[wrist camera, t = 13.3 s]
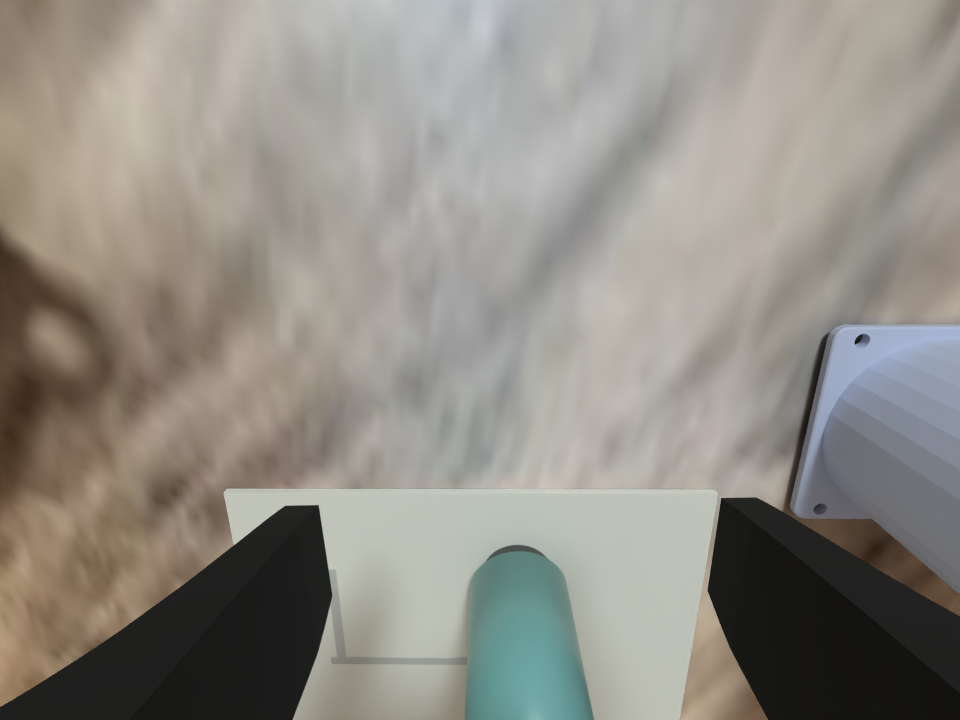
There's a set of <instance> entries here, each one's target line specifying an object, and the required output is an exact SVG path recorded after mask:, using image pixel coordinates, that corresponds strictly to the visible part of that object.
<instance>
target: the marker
mask: <svg viewBox="0 0 960 720" xmlns="http://www.w3.org/2000/svg"><path fill="white" fill-rule="evenodd" d="M465 720H594V717H593V712H592V707H591V702H590V697H589V692H588V687H587V682H586V677H585V672H584V667H583V662H582V657H581V652H580V647H579V642H578V637H577V633H576V628H575V623H574V618H573V613H572V608H571V603H570V598H569V593H568V588H567V583H566V579H565V577H564V575H563V573H562V571H561V570H560V569H559V568H558V566H557V565H555V564H554V563H553V562H552V561H550V560H549V559H547V558H546V556H545V555H544V554H542V553H541V552H540V551H538V550H537V549H535V548H532V547H529V546H525V545H511V546H506V547H503V548H501V549H498V550H497V551H495V552H494V553H492V554H491V555H490V556H489V557H488V559H487V560H486V562H485V563H484V564H482V565H481V566H480V567H479V568H478V570H477V571H476V572H475V574H474V576H473V578H472V581H471V585H470V599H469V624H468V649H467V674H466V699H465Z"/></svg>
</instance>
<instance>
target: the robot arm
mask: <svg viewBox="0 0 960 720" xmlns="http://www.w3.org/2000/svg"><path fill="white" fill-rule="evenodd" d="M860 334H862V339H861V341H860V342H859V343H857V344H855V339H856V337H858V336H859V335H860ZM818 504H820V506H819V507H817V508H815V509H814V507H815V506H816V505H818ZM790 508H791V510H792V512H793V513H794V514H795V515H796V516H797V517H799V518H802V519H873V520H874V521H875V522H876V523H877V524H879V525H880V526H881V527H882V528H883V529H884V530H885V531H887V532H888V533H889V534H890V535H891V536H892V537H894V538H895V539H896V540H897V541H898V542H899V543H900V544H902V545H903V546H904V547H905V548H906V549H907V550H908V551H910V552H911V553H912V554H913V555H914V556H915V557H917V558H918V559H919V560H920V561H921V562H922V563H923V564H925V565H926V566H927V567H928V568H929V569H930V570H931V571H933V572H934V573H935V574H936V575H937V576H938V577H940V578H941V579H942V580H943V581H944V582H945V583H946V584H948V585H949V586H950V587H951V588H952V589H953V590H954V591H956V592H957V593H958V594H959V595H960V324H940V325H841V326H838V327H836V328H834V329H833V330H832V331H831V332H830V334H829V336H828V338H827V343H826V347H825V352H824V356H823V361H822V365H821V369H820V374H819V378H818V383H817V387H816V392H815V396H814V400H813V405H812V409H811V414H810V418H809V423H808V427H807V431H806V436H805V440H804V445H803V449H802V454H801V458H800V462H799V467H798V471H797V476H796V480H795V485H794V489H793V493H792V498H791V502H790ZM708 593H709V595H710V598H711V601H712V603H713V606H714V609H715V611H716V614H717V617H718V619H719V622H720V624H721V627H722V629H723V632H724V634H725V637H726V639H727V641H728V644H729V646H730V649H731V651H732V653H733V654H734V656H735V658H736V660H737V662H738V664H739V666H740V668H741V670H742V672H743V674H744V675H745V677H746V679H747V681H748V683H749V685H750V687H751V689H752V690H753V692H754V694H755V696H756V698H757V700H758V702H759V704H760V705H761V707H762V709H763V711H764V713H765V715H766V717H767V718H768V720H960V616H958V615H956V614H954V613H953V612H951V611H949V610H947V609H945V608H944V607H942V606H940V605H938V604H936V603H935V602H933V601H931V600H929V599H927V598H926V597H924V596H922V595H920V594H919V593H917V592H915V591H913V590H912V589H910V588H908V587H906V586H905V585H903V584H901V583H899V582H898V581H896V580H894V579H893V578H891V577H889V576H888V575H886V574H884V573H882V572H881V571H879V570H877V569H876V568H874V567H872V566H871V565H869V564H867V563H866V562H864V561H862V560H861V559H859V558H857V557H856V556H854V555H853V554H851V553H849V552H848V551H846V550H844V549H843V548H841V547H839V546H838V545H836V544H834V543H833V542H831V541H830V540H828V539H826V538H825V537H823V536H821V535H820V534H818V533H817V532H815V531H813V530H812V529H810V528H808V527H807V526H805V525H803V524H802V523H800V522H798V521H797V520H795V519H793V518H792V517H790V516H788V515H787V514H785V513H783V512H782V511H780V510H778V509H777V508H775V507H773V506H771V505H769V504H768V503H766V502H764V501H762V500H760V499H758V498H721V504H720V511H719V518H718V524H717V531H716V538H715V544H714V551H713V558H712V565H711V571H710V578H709V585H708ZM332 596H333V595H332V589H331V582H330V576H329V569H328V563H327V556H326V550H325V543H324V536H323V530H322V523H321V517H320V510H319V505H293V506H284V507H283V508H281V509H280V510H279V511H277V512H276V513H274V514H273V515H272V516H270V517H269V518H268V519H267V520H265V521H264V522H263V523H261V524H260V525H259V526H258V527H256V528H255V529H254V530H253V531H251V532H250V533H249V534H248V535H246V536H245V537H244V538H243V539H241V540H240V541H239V542H238V543H236V544H235V545H234V546H233V547H231V548H230V549H229V550H228V551H226V552H225V553H224V554H222V555H221V556H220V557H219V558H217V559H216V560H215V561H213V562H212V563H211V564H210V565H208V566H207V567H206V568H205V569H203V570H202V571H201V572H199V573H198V574H197V575H196V576H194V577H193V578H192V579H190V580H189V581H188V582H187V583H185V584H184V585H183V586H181V587H180V588H178V589H177V590H176V591H174V592H173V593H172V594H170V595H169V596H167V597H166V598H165V599H163V600H162V601H161V602H159V603H158V604H156V605H155V606H154V607H152V608H151V609H150V610H148V611H147V612H145V613H144V614H143V615H141V616H140V617H139V618H137V619H136V620H134V621H133V622H132V623H130V624H129V625H128V626H126V627H125V628H123V629H122V630H121V631H119V632H118V633H116V634H115V635H113V636H112V637H110V638H109V639H108V640H106V641H105V642H103V643H102V644H100V645H99V646H97V647H96V648H94V649H93V650H91V651H90V652H88V653H87V654H85V655H84V656H82V657H81V658H79V659H77V660H76V661H74V662H73V663H71V664H70V665H68V666H66V667H65V668H63V669H62V670H60V671H59V672H57V673H55V674H54V675H52V676H51V677H49V678H47V679H46V680H44V681H43V682H41V683H40V684H38V685H36V686H35V687H33V688H32V689H30V690H28V691H27V692H25V693H23V694H22V695H20V696H18V697H17V698H15V699H13V700H12V701H10V702H8V703H7V704H5V705H3V706H1V707H0V720H293V717H294V715H295V712H296V710H297V707H298V705H299V702H300V699H301V697H302V694H303V691H304V689H305V686H306V684H307V681H308V678H309V676H310V673H311V670H312V668H313V665H314V662H315V660H316V657H317V654H318V651H319V647H320V643H321V640H322V636H323V632H324V628H325V625H326V620H327V616H328V612H329V608H330V604H331V600H332Z"/></svg>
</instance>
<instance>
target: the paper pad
mask: <svg viewBox="0 0 960 720" xmlns="http://www.w3.org/2000/svg"><path fill="white" fill-rule="evenodd" d="M224 497H225V502H226V507H227V513H228V518H229V523H230V528H231V533H232V538H233V543H234V545H235V544H236V543H238V542H239V541H240V540H241V539H243V538H244V537H245V536H246V535H248V534H249V533H250V532H251V531H253V530H254V529H255V528H256V527H258V526H259V525H260V524H261V523H263V522H264V521H265V520H267V519H268V518H269V517H270V516H272V515H273V514H274V513H276V512H277V511H279V510H280V509H281V508H283V507H284V506H293V505H319V510H320V517H321V523H322V530H323V536H324V543H325V550H326V556H327V563H328V569H329V576H330V582H331V589H332V595H333V596H332V600H331V604H330V608H329V612H328V616H327V620H326V625H325V628H324V632H323V636H322V640H321V643H320V647H319V651H318V654H317V657H316V660H315V662H314V665H313V668H312V670H311V673H310V676H309V678H308V681H307V684H306V686H305V689H304V691H303V694H302V697H301V699H300V702H299V705H298V707H297V710H296V712H295V715H294V717H293V720H465V699H466V674H467V649H468V624H469V599H470V585H471V581H472V578H473V576H474V574H475V572H476V571H477V570H478V568H479V567H480V566H481V565H482V564H484V563H485V562H486V560H487V559H488V557H489V556H490V555H491V554H492V553H494V552H495V551H497V550H498V549H501V548H503V547H506V546H511V545H525V546H529V547H532V548H535V549H537V550H538V551H540V552H541V553H542V554H544V555H545V556H546V558H547V559H549V560H550V561H552V562H553V563H554V564H555V565H557V566H558V568H559V569H560V570H561V571H562V573H563V575H564V577H565V579H566V583H567V588H568V593H569V598H570V603H571V608H572V613H573V618H574V623H575V628H576V633H577V637H578V642H579V647H580V652H581V657H582V662H583V667H584V672H585V677H586V682H587V687H588V692H589V697H590V702H591V707H592V712H593V717H594V720H680V714H681V708H682V702H683V696H684V690H685V685H686V679H687V673H688V667H689V661H690V655H691V649H692V643H693V638H694V632H695V626H696V620H697V614H698V608H699V602H700V597H701V591H702V585H703V579H704V573H705V567H706V561H707V555H708V550H709V544H710V538H711V532H712V526H713V520H714V514H715V509H716V503H717V497H718V493H717V492H716V490H662V489H226V491H225V492H224Z"/></svg>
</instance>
